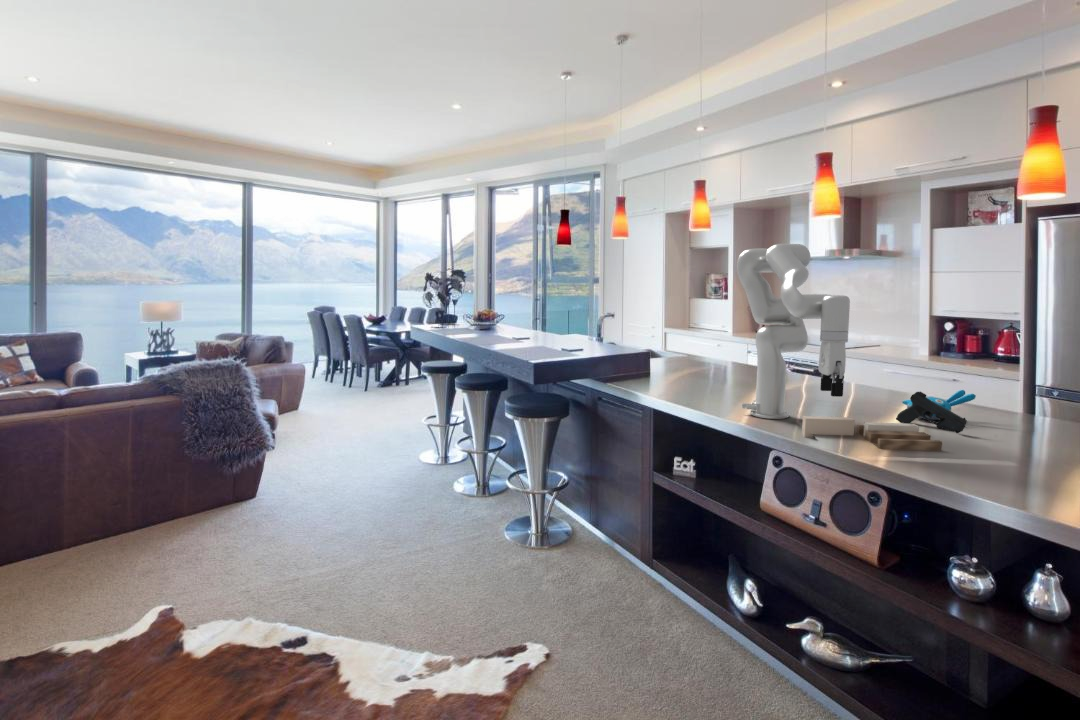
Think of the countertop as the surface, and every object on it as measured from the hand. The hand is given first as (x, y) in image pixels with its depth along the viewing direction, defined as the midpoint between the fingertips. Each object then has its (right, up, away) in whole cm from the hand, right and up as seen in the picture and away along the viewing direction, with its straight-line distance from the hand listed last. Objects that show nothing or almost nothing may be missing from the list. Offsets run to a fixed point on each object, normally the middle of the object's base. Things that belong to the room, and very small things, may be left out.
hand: (831, 393), depth 185 cm
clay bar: (0, -14, +2) cm, 14 cm away
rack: (+16, -15, -7) cm, 23 cm away
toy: (+47, -10, +24) cm, 54 cm away
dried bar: (+16, -13, -2) cm, 21 cm away
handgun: (+36, -12, +10) cm, 40 cm away
